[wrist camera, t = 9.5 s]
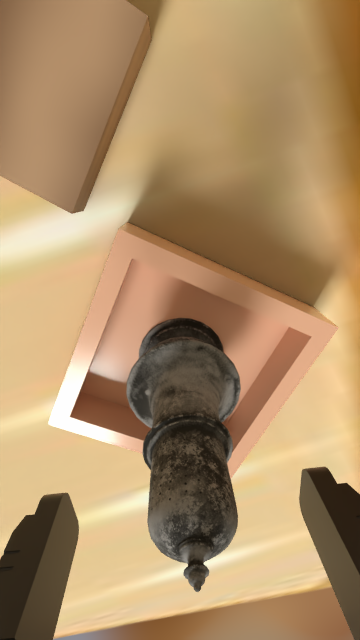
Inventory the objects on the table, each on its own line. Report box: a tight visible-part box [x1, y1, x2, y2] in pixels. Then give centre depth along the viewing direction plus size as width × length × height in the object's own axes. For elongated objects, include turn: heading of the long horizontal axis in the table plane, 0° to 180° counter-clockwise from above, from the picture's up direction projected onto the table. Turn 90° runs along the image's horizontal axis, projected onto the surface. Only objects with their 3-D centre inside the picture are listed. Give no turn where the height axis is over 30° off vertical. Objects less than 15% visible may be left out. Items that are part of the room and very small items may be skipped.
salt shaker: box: [126, 318, 241, 592], centre depth 13 cm, size 6×6×12 cm
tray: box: [48, 222, 338, 479], centre depth 18 cm, size 12×12×3 cm
